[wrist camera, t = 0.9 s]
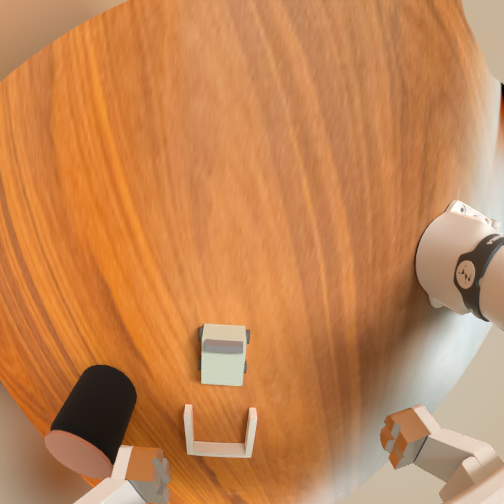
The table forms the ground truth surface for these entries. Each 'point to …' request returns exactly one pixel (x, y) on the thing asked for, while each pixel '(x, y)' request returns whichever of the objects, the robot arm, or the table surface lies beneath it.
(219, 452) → the dock bay
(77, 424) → the coffee jar
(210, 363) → the sage cart
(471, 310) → the robot arm
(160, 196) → the table surface
